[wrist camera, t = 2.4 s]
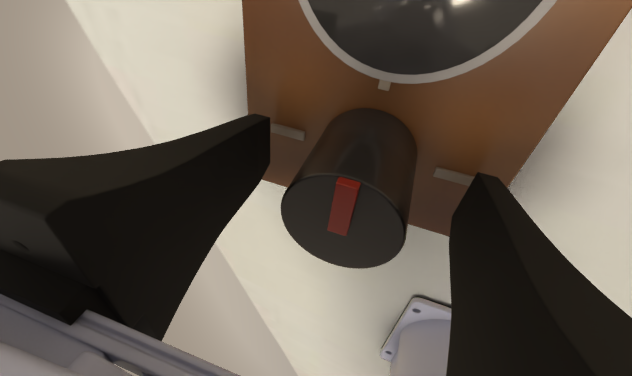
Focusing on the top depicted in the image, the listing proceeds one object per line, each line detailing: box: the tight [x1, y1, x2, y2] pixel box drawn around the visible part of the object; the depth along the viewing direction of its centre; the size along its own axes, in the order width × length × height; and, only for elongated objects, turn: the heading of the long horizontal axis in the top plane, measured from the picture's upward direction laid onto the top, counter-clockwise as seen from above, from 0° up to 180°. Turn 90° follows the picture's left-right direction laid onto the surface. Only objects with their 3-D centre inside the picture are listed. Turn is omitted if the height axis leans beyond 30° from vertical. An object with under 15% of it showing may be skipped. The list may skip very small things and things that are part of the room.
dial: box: [281, 108, 417, 268], centre depth 10 cm, size 4×4×4 cm
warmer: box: [242, 0, 632, 237], centre depth 10 cm, size 14×10×3 cm
